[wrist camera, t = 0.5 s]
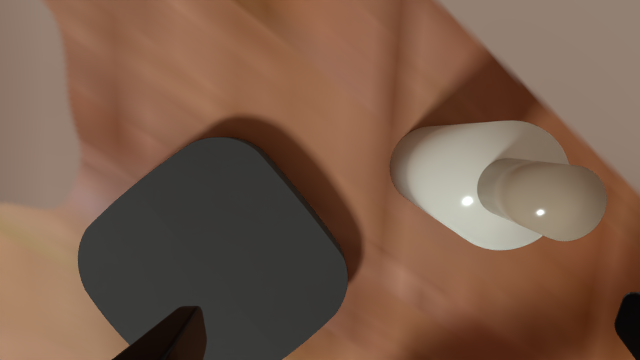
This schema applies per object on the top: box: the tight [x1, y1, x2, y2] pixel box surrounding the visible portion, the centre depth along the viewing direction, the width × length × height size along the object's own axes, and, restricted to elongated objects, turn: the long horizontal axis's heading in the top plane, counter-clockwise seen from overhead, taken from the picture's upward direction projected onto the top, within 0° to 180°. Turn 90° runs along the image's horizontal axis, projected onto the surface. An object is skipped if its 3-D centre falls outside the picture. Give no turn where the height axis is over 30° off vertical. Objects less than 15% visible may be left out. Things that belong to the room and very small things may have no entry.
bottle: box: [390, 120, 607, 250], centre depth 16 cm, size 5×5×12 cm
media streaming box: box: [78, 137, 348, 360], centre depth 22 cm, size 15×15×3 cm
